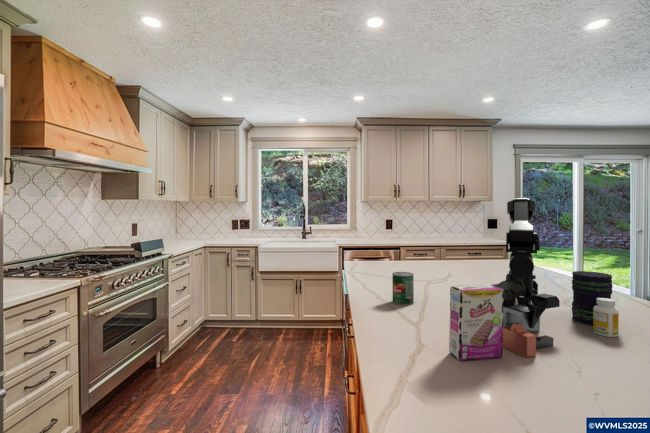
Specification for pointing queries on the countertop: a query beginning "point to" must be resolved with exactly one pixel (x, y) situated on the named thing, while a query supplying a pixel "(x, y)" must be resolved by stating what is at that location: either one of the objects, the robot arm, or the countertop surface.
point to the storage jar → (588, 294)
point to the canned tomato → (403, 288)
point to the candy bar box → (476, 322)
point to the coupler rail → (523, 341)
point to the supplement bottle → (605, 318)
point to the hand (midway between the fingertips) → (520, 324)
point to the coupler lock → (518, 317)
